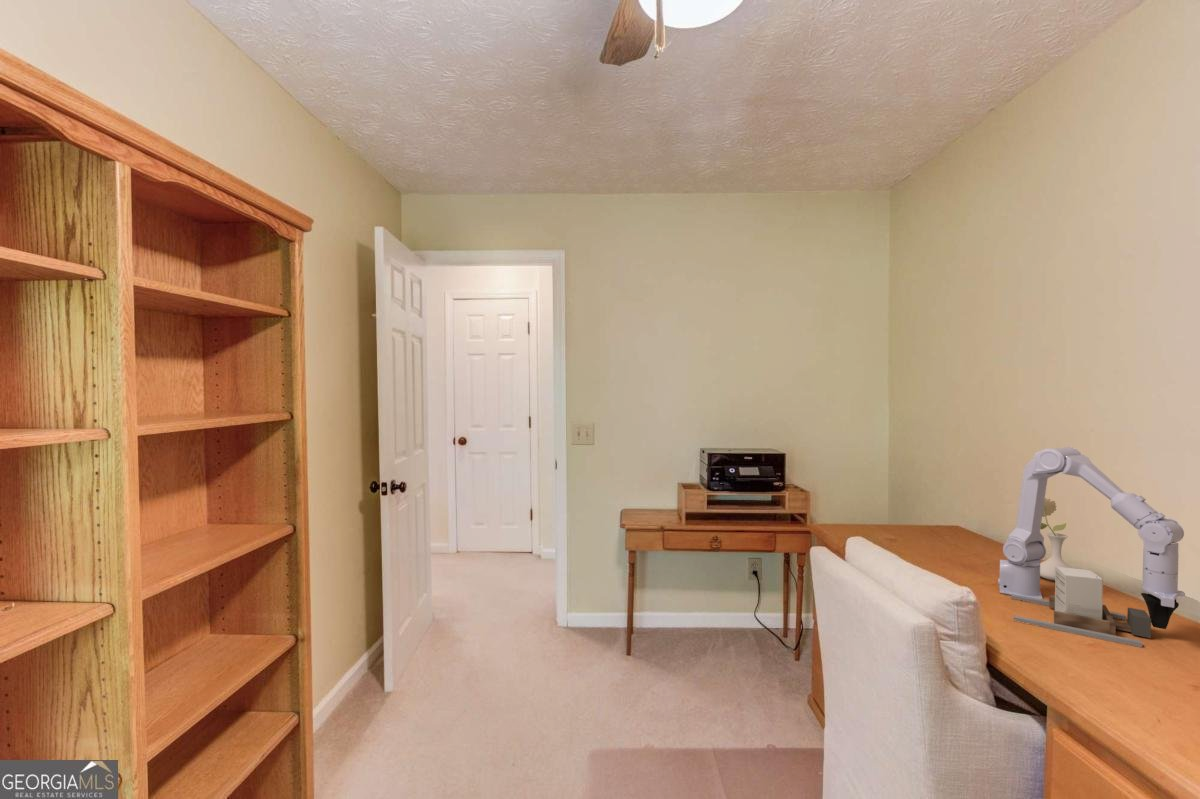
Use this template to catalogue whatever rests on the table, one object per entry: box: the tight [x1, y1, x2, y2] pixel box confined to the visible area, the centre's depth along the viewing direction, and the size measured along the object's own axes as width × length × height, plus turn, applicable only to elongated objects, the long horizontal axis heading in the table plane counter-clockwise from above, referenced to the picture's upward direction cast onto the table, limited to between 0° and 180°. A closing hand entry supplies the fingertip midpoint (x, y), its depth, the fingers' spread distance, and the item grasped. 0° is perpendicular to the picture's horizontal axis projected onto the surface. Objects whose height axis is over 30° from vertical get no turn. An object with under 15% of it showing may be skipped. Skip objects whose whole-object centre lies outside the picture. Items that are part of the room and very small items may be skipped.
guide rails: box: [1010, 594, 1143, 648], centre depth 134 cm, size 23×19×1 cm
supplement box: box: [1054, 566, 1104, 619], centre depth 133 cm, size 7×7×13 cm
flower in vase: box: [1040, 497, 1073, 582], centre depth 163 cm, size 13×11×25 cm
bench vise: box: [1048, 595, 1152, 639], centre depth 131 cm, size 18×13×4 cm
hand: (1158, 627), depth 125 cm, fingers closed
